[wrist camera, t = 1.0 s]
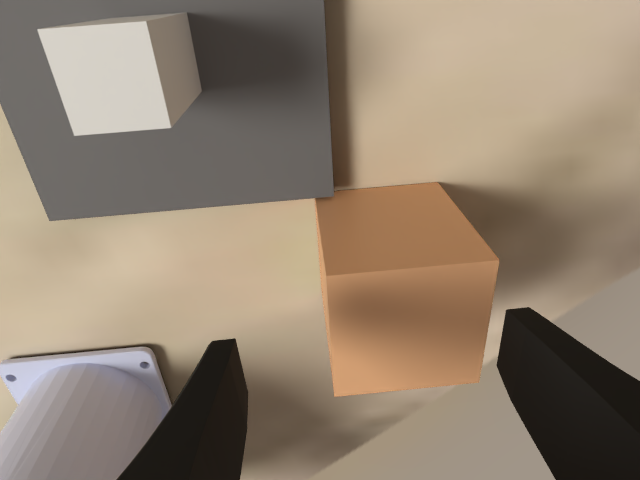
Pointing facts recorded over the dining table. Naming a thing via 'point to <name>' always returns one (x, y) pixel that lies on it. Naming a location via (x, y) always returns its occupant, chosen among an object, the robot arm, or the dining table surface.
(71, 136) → the post board
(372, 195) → the peach tan brick
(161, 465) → the robot arm
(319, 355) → the dining table surface
